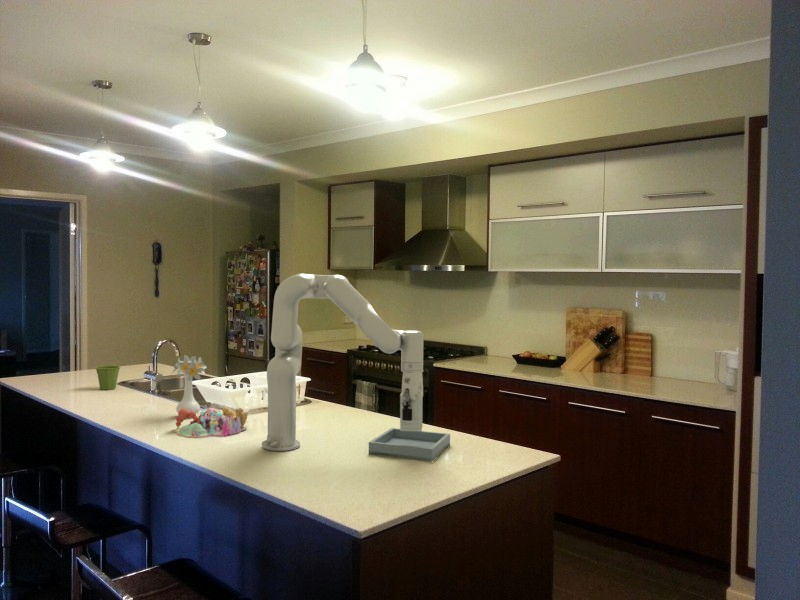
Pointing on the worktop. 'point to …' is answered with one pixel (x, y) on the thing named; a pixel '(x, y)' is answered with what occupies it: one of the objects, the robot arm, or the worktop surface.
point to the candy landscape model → (211, 423)
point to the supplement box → (416, 415)
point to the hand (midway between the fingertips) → (411, 417)
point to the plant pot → (107, 376)
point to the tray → (409, 444)
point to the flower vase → (189, 381)
